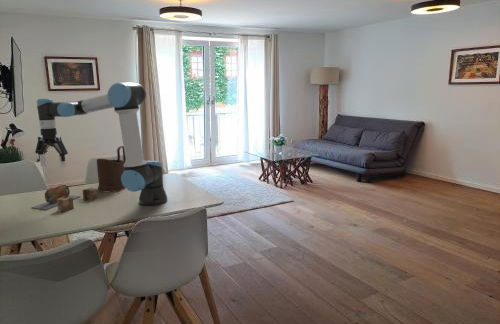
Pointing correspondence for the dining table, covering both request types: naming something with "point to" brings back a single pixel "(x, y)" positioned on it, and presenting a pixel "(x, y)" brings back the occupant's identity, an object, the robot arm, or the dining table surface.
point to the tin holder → (67, 203)
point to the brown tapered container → (111, 173)
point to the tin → (56, 193)
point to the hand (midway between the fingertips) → (53, 166)
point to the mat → (51, 204)
